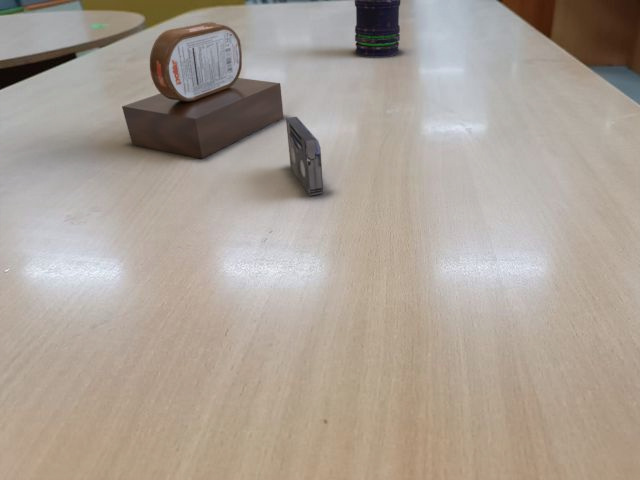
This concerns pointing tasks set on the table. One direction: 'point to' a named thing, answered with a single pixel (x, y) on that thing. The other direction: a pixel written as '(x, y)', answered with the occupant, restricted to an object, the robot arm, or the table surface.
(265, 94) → the block
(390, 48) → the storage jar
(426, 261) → the table surface
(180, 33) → the tin
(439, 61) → the table surface
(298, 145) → the mini dv tape
